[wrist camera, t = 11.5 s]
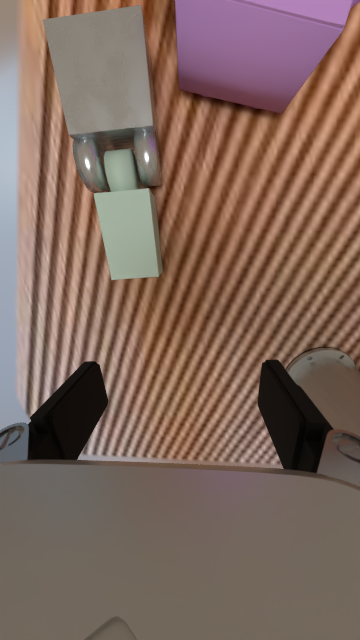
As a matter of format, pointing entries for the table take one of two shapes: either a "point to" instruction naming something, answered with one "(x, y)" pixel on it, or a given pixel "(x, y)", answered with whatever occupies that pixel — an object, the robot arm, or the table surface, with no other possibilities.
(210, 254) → the table surface
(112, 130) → the steel hinge leaf
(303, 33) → the teapot
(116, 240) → the sage hinge leaf
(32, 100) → the table surface
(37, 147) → the table surface
